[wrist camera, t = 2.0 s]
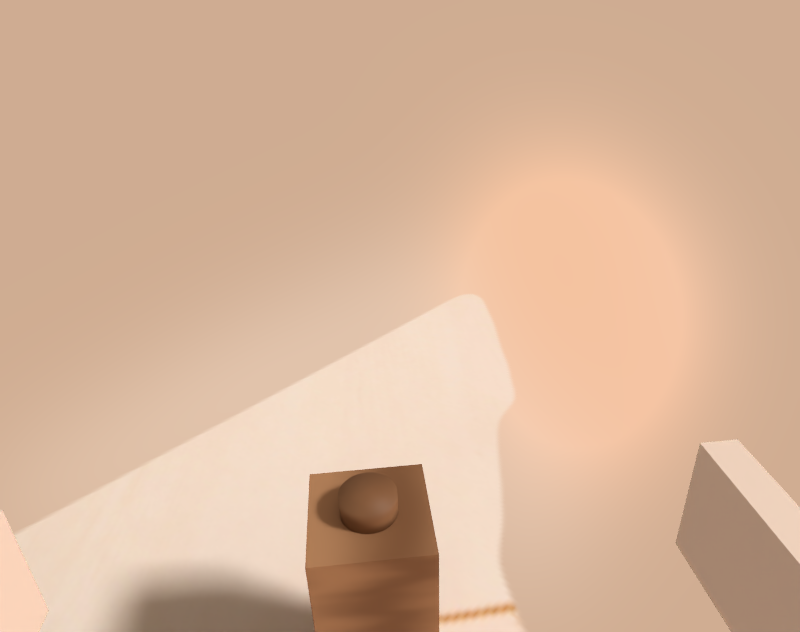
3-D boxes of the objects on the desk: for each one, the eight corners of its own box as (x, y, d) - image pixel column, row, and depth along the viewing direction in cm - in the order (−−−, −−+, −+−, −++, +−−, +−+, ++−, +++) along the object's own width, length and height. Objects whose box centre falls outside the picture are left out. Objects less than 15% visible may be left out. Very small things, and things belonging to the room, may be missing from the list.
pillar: (332, 745, 28) (302, 549, 22) (332, 644, 33) (307, 457, 27) (439, 732, 29) (438, 535, 23) (425, 634, 33) (421, 447, 27)
